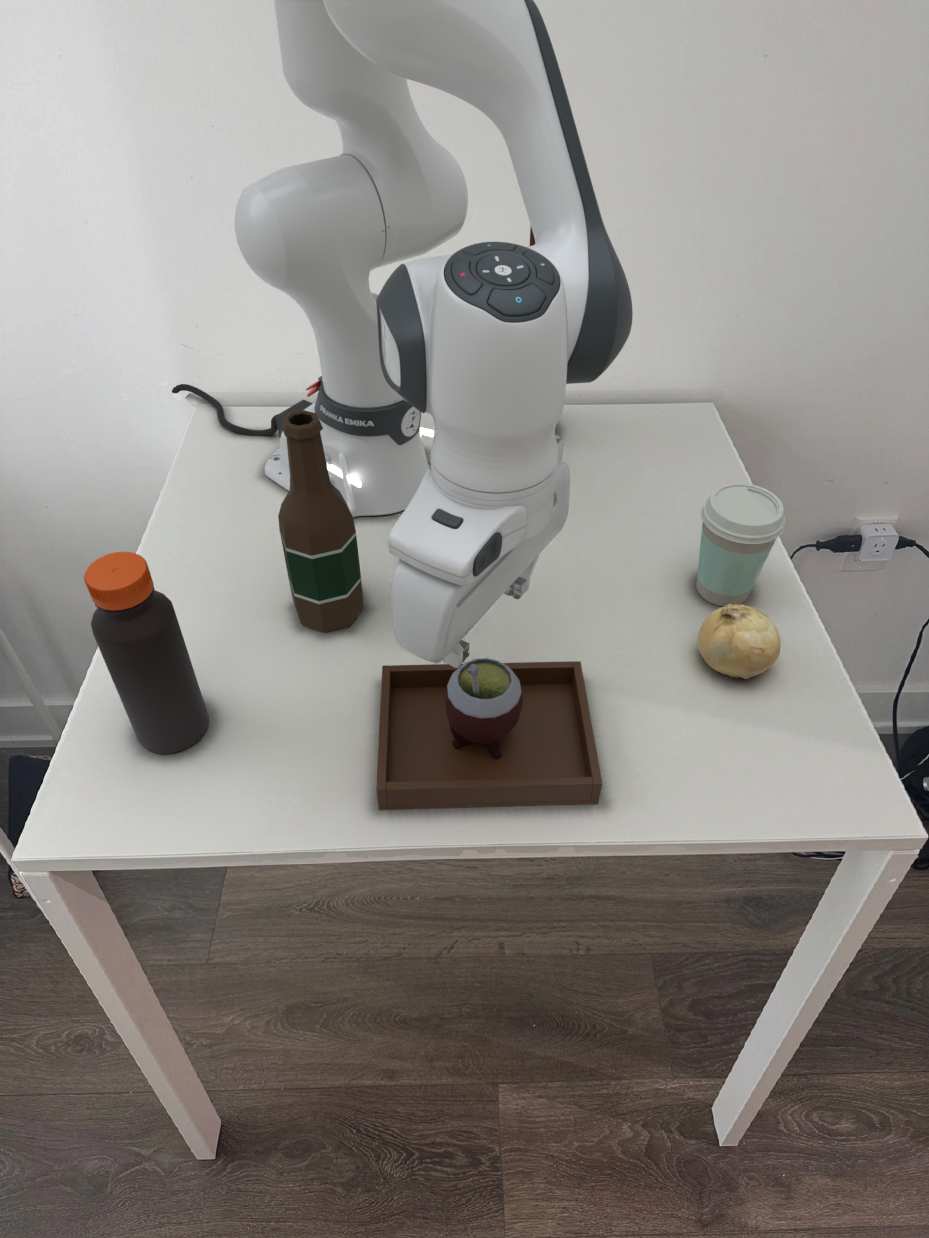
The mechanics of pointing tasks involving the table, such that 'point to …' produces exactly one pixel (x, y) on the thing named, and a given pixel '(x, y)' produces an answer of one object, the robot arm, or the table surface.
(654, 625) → the table surface
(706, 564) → the coffee cup
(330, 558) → the beer bottle
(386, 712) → the tray
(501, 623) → the table surface
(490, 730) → the mate gourd
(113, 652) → the vinegar
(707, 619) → the onion
